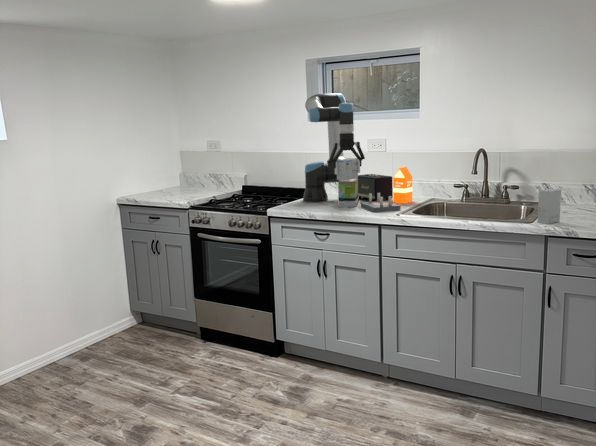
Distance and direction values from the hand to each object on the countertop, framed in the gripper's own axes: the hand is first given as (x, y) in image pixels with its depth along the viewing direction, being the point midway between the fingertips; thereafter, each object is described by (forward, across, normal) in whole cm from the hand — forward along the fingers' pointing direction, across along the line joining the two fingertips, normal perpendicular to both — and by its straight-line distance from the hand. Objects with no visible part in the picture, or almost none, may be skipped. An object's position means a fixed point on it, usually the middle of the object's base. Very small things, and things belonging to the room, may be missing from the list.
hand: (347, 173), depth 297 cm
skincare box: (+20, +69, -73) cm, 102 cm away
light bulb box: (+3, 0, 0) cm, 3 cm away
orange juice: (+20, +38, +12) cm, 45 cm away
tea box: (+20, +6, +16) cm, 26 cm away
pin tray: (+20, +17, -4) cm, 26 cm away
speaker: (+20, +27, +30) cm, 45 cm away
